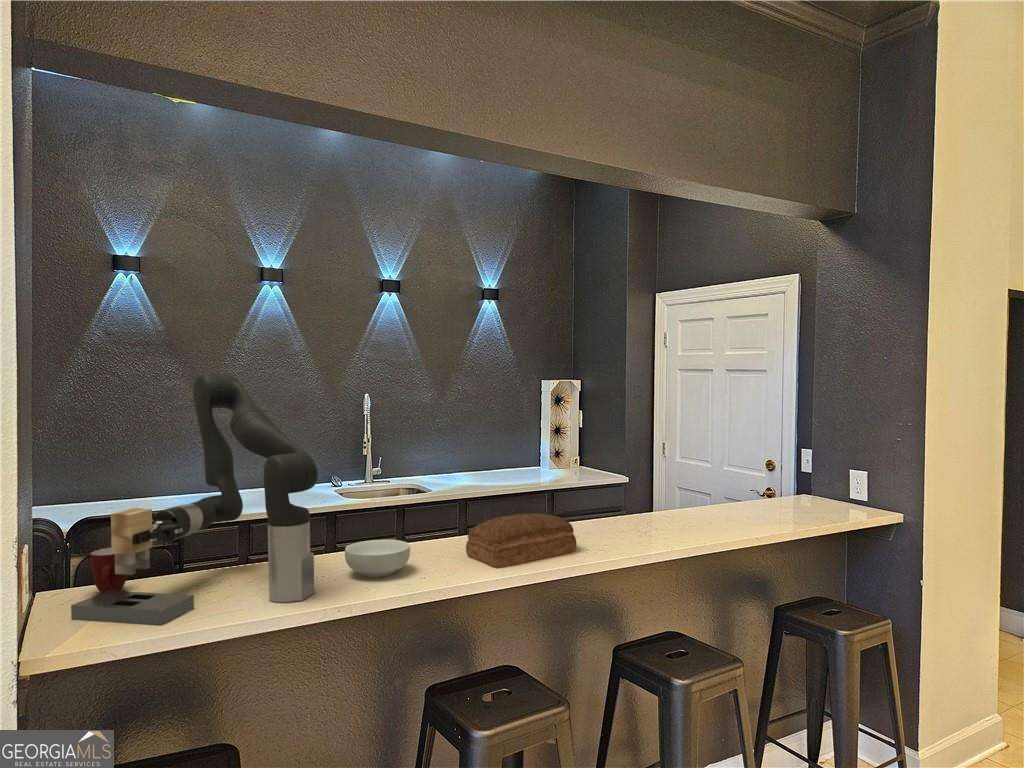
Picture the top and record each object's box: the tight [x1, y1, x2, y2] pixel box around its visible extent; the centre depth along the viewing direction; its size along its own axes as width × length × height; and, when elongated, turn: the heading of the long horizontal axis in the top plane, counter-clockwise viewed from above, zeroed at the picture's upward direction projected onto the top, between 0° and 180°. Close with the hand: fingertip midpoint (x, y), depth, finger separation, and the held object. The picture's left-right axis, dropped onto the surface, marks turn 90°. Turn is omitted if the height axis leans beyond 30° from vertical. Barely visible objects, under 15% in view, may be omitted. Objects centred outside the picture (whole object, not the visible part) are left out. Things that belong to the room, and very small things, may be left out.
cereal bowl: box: [344, 539, 411, 578], centre depth 172 cm, size 17×17×7 cm
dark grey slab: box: [70, 590, 195, 626], centre depth 143 cm, size 22×10×3 cm, turn 79°
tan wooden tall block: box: [110, 507, 153, 576], centre depth 143 cm, size 5×6×13 cm
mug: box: [89, 547, 128, 594], centre depth 157 cm, size 10×8×10 cm
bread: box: [465, 512, 577, 569], centre depth 188 cm, size 17×29×11 cm, turn 124°
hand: (123, 539), depth 141 cm, fingers closed on tan wooden tall block, 5 cm apart
